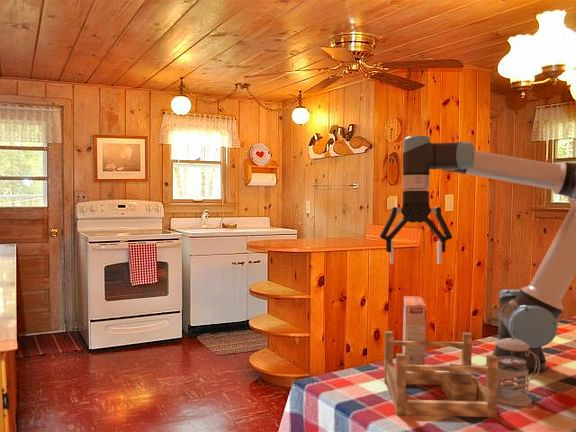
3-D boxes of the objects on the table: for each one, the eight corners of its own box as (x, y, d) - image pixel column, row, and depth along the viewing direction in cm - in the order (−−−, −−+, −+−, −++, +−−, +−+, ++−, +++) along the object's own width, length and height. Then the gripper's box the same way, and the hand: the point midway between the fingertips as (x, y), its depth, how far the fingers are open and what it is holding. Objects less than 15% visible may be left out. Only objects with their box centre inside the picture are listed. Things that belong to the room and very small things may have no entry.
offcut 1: (469, 375, 136) (469, 365, 136) (471, 384, 129) (471, 374, 129) (449, 373, 137) (449, 364, 137) (450, 382, 130) (450, 373, 130)
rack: (468, 383, 142) (469, 332, 142) (496, 417, 121) (498, 357, 120) (384, 381, 144) (384, 331, 143) (396, 414, 122) (397, 355, 121)
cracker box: (425, 380, 145) (427, 305, 144) (403, 378, 146) (404, 304, 145) (422, 364, 158) (423, 296, 158) (402, 362, 160) (402, 295, 159)
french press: (484, 390, 137) (486, 296, 136) (529, 391, 137) (531, 297, 136) (498, 405, 127) (500, 304, 126) (546, 406, 127) (549, 305, 126)
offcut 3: (464, 391, 138) (464, 382, 138) (476, 405, 129) (476, 395, 129) (441, 391, 138) (441, 382, 138) (452, 405, 129) (452, 395, 129)
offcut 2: (465, 383, 137) (466, 373, 137) (476, 394, 129) (477, 384, 129) (443, 383, 137) (443, 373, 137) (452, 394, 129) (452, 384, 129)
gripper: (373, 190, 147) (373, 265, 148) (463, 190, 146) (462, 265, 146) (371, 190, 154) (370, 261, 155) (456, 190, 153) (455, 262, 154)
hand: (415, 263), depth 151 cm, fingers open, 13 cm apart
